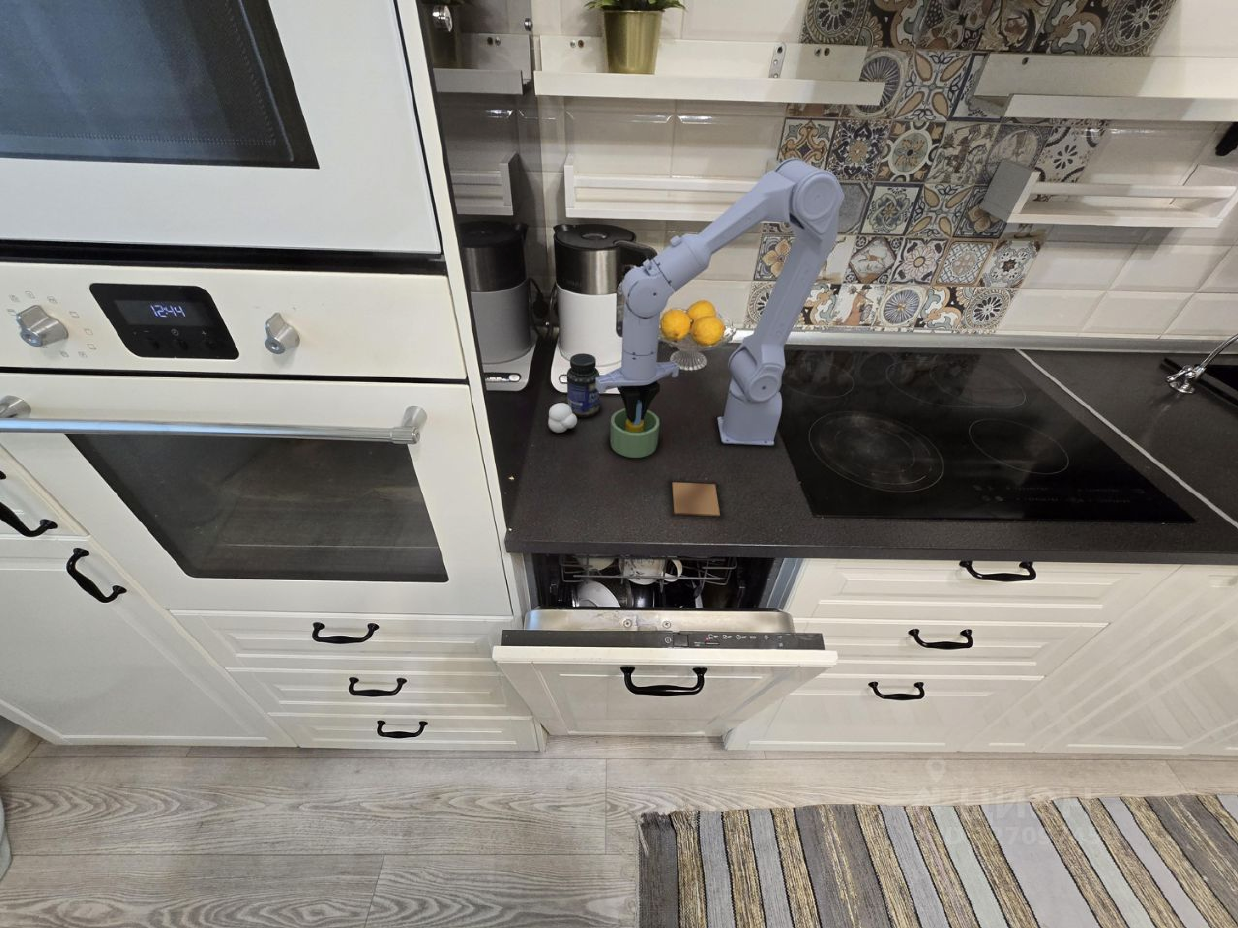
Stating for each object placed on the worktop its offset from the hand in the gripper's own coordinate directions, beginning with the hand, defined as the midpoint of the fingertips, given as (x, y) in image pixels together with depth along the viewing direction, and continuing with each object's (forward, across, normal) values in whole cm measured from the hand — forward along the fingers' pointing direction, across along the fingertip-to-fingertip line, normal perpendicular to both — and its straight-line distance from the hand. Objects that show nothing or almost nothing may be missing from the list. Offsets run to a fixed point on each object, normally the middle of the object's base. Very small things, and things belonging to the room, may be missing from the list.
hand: (635, 418), depth 90 cm
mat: (+5, -2, +18) cm, 19 cm away
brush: (+3, 0, 0) cm, 3 cm away
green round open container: (+5, 0, +1) cm, 5 cm away
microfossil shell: (+5, +11, -8) cm, 14 cm away
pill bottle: (+5, +5, -13) cm, 14 cm away
